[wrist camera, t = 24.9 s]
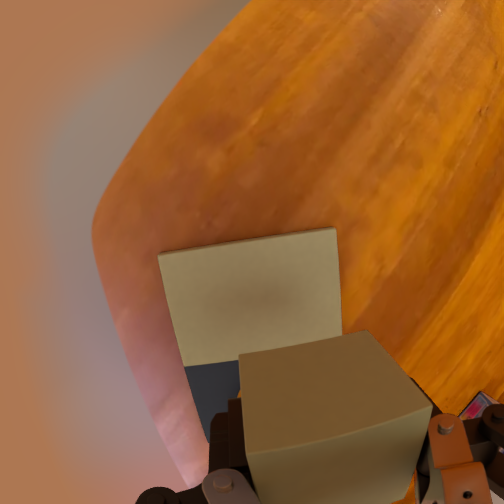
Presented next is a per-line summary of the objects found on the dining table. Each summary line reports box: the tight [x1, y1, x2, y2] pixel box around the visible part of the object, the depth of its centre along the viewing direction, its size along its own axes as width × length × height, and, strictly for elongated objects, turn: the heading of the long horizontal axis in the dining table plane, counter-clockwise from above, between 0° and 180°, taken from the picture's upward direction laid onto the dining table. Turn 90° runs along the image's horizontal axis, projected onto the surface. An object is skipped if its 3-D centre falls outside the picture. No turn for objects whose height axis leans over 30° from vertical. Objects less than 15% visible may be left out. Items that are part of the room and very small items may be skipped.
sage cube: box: [238, 330, 433, 504], centre depth 10 cm, size 5×5×5 cm
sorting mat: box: [157, 227, 342, 443], centre depth 27 cm, size 14×20×1 cm
